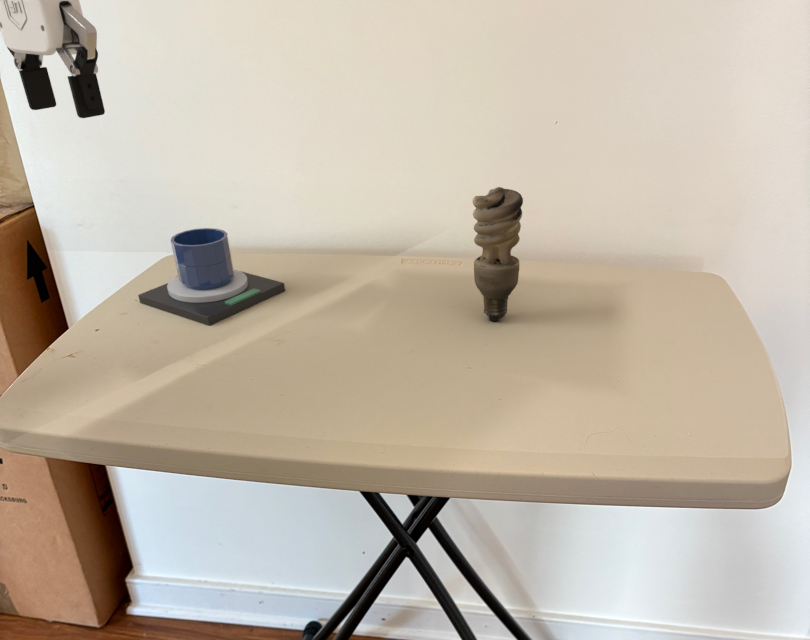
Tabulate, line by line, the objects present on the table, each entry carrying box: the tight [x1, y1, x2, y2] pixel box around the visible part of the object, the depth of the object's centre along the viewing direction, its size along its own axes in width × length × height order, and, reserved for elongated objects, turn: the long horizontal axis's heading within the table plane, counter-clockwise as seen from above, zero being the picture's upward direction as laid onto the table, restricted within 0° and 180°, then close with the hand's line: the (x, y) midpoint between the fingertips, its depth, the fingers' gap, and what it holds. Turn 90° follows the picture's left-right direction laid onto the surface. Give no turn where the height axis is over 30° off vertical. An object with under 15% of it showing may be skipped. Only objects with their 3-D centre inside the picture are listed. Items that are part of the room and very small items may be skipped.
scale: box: [137, 268, 286, 327], centre depth 97 cm, size 13×13×3 cm
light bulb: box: [472, 186, 524, 322], centre depth 87 cm, size 6×6×15 cm
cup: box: [170, 227, 235, 290], centre depth 94 cm, size 7×7×6 cm
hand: (67, 112), depth 87 cm, fingers open, 9 cm apart
